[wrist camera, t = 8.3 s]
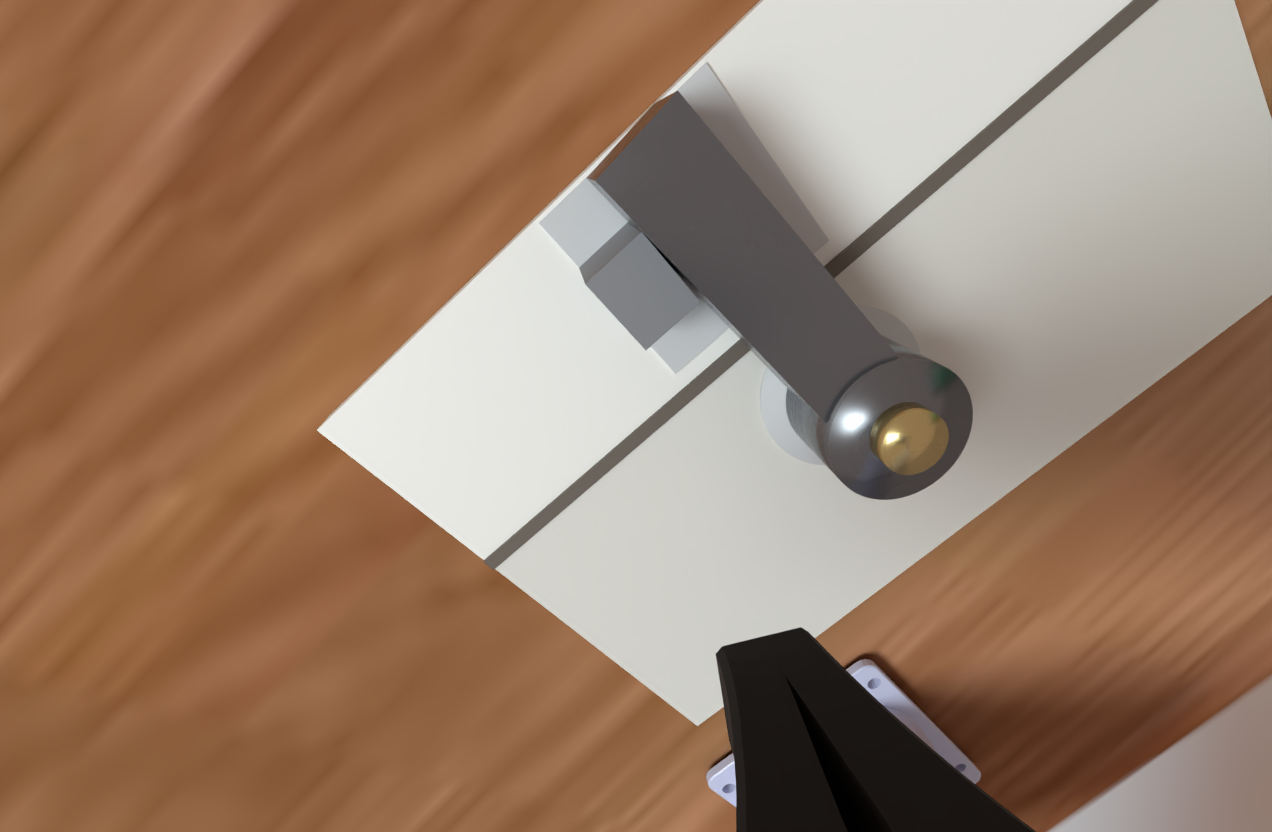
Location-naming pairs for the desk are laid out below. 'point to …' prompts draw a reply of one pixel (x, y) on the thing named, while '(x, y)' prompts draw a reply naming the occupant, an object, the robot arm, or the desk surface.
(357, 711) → the desk surface
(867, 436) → the bar
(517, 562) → the door board
